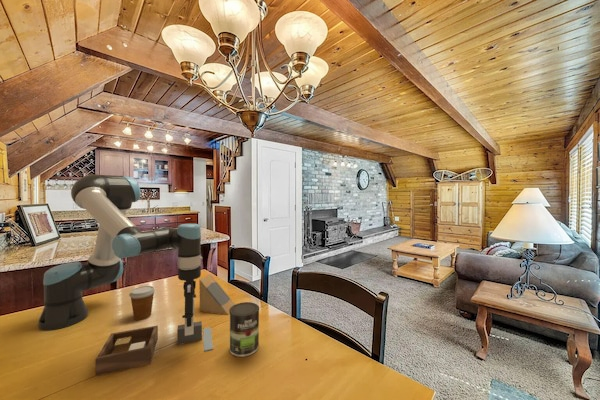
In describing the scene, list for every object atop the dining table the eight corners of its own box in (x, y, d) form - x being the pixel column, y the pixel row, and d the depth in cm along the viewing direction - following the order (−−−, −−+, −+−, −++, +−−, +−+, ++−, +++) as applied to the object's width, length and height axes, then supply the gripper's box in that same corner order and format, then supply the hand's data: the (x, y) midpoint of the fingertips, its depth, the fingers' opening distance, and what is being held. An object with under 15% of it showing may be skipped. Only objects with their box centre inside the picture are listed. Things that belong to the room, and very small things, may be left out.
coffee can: (263, 351, 85) (263, 311, 85) (232, 360, 80) (232, 318, 80) (254, 335, 94) (254, 299, 94) (226, 343, 89) (226, 305, 89)
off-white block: (131, 355, 81) (131, 343, 81) (145, 352, 82) (145, 341, 82) (128, 363, 77) (128, 351, 77) (143, 360, 79) (143, 348, 78)
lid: (168, 337, 94) (168, 319, 93) (210, 329, 100) (210, 312, 99) (164, 362, 80) (164, 341, 80) (213, 351, 86) (212, 331, 86)
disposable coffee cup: (124, 319, 105) (124, 291, 105) (145, 309, 114) (145, 284, 114) (139, 324, 102) (139, 295, 102) (160, 313, 111) (160, 287, 110)
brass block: (118, 350, 84) (117, 338, 83) (131, 347, 85) (131, 336, 85) (114, 357, 80) (113, 345, 80) (128, 354, 81) (128, 342, 81)
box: (111, 350, 85) (111, 333, 85) (157, 341, 90) (157, 325, 90) (95, 379, 72) (95, 359, 72) (150, 366, 77) (150, 348, 77)
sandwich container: (229, 315, 110) (228, 282, 109) (199, 311, 113) (199, 279, 113) (238, 307, 118) (238, 276, 117) (210, 303, 122) (210, 273, 121)
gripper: (200, 276, 79) (201, 341, 79) (200, 257, 102) (200, 307, 102) (174, 279, 76) (175, 346, 77) (180, 258, 99) (181, 310, 100)
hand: (189, 324), depth 90 cm, fingers open, 13 cm apart
